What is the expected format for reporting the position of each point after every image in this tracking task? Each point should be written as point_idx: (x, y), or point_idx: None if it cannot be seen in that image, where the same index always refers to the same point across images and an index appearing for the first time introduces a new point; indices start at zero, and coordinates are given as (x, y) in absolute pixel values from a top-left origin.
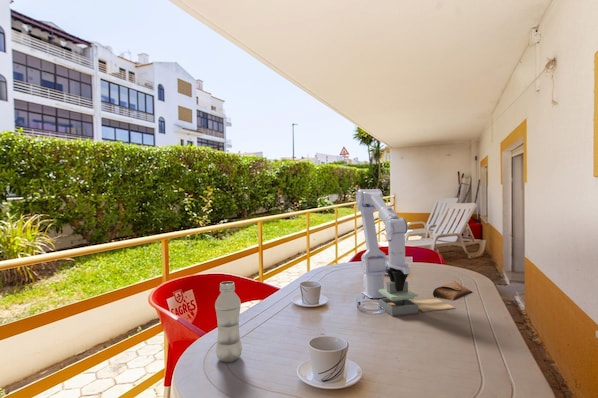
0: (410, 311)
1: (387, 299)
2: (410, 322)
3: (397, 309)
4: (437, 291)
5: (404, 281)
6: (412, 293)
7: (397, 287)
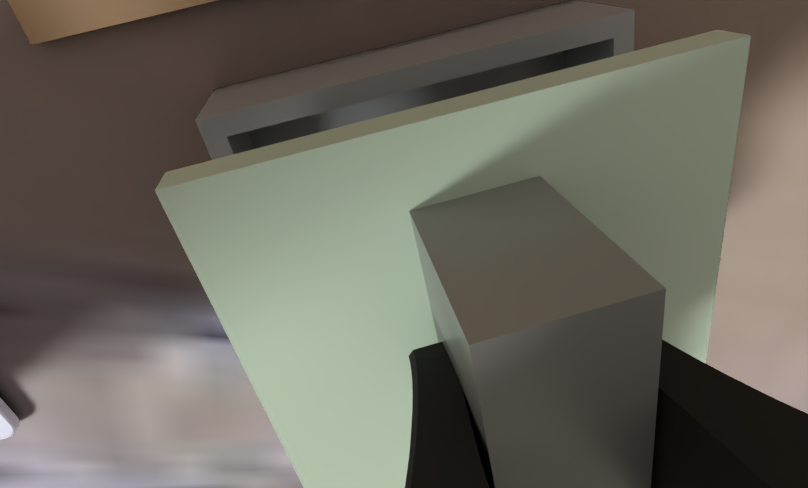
0: None
1: None
2: (764, 169)
3: None
4: None
5: (792, 418)
6: (649, 115)
7: None
